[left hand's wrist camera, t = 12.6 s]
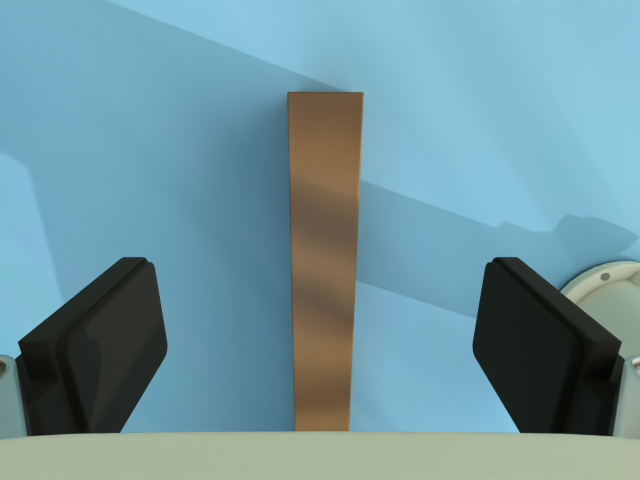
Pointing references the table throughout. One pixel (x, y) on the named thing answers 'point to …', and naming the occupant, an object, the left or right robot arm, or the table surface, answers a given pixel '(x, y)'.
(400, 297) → the table surface
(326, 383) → the bar
